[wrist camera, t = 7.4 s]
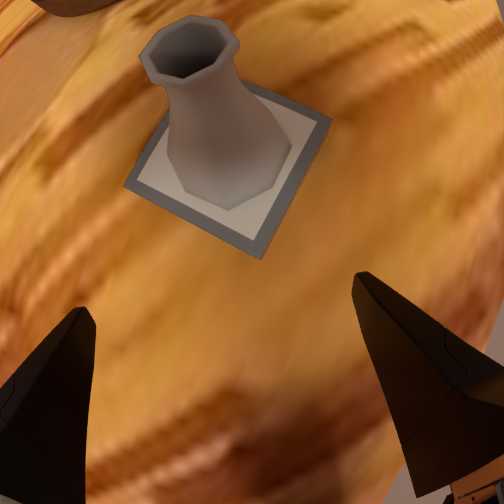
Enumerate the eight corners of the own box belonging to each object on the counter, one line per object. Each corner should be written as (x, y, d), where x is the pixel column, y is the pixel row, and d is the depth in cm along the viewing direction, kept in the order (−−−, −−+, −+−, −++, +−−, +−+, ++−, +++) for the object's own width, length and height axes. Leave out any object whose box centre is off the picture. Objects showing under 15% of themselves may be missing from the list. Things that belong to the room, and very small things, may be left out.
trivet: (327, 134, 20) (333, 118, 18) (261, 260, 20) (259, 259, 18) (206, 83, 21) (199, 64, 18) (138, 194, 21) (121, 185, 18)
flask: (228, 81, 18) (197, -32, 8) (313, 147, 18) (346, 40, 8) (149, 157, 18) (59, 79, 8) (229, 233, 18) (175, 196, 8)
